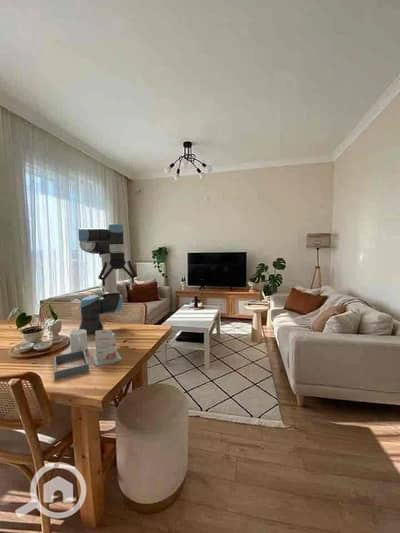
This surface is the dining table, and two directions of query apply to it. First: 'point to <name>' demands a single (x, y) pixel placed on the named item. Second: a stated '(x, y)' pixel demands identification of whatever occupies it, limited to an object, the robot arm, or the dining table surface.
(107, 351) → the ink cartridge box
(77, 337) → the mug
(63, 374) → the bin
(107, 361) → the mat
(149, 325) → the dining table surface
